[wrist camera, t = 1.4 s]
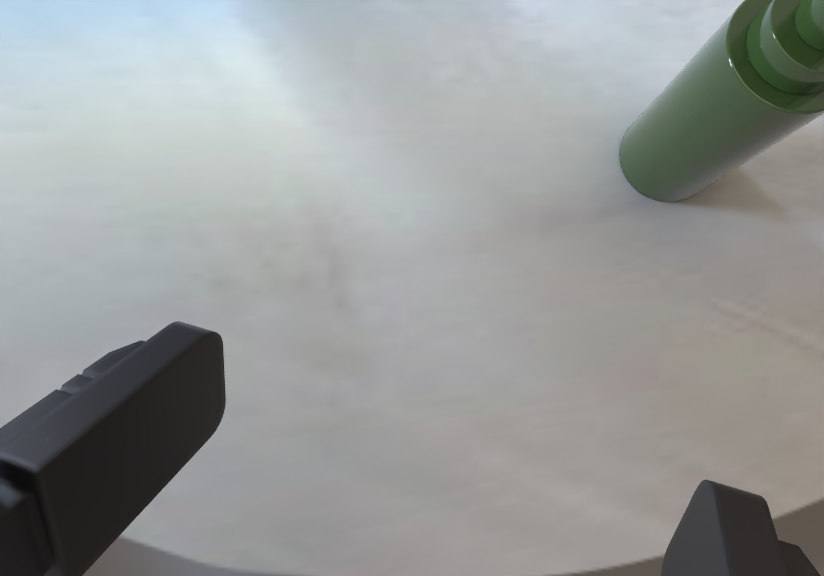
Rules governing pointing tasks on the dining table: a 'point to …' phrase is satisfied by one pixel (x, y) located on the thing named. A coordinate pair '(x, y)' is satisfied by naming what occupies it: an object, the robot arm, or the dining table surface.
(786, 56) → the oil bottle
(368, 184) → the dining table surface
